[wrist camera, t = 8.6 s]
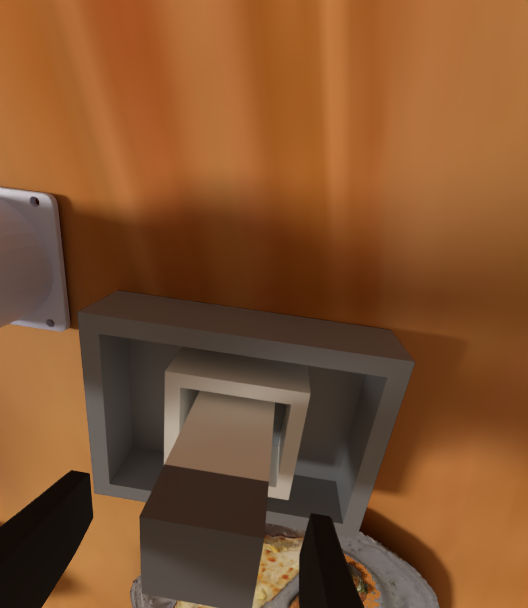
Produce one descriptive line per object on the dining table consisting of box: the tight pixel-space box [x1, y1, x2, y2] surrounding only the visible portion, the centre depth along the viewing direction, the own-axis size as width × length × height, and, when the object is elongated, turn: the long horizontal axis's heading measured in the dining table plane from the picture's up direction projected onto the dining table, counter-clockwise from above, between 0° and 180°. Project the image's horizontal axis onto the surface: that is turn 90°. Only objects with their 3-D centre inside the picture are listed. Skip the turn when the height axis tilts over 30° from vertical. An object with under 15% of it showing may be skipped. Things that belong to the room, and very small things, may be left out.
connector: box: [140, 391, 275, 608], centre depth 14 cm, size 4×4×9 cm
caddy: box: [77, 290, 415, 538], centre depth 18 cm, size 16×12×4 cm
